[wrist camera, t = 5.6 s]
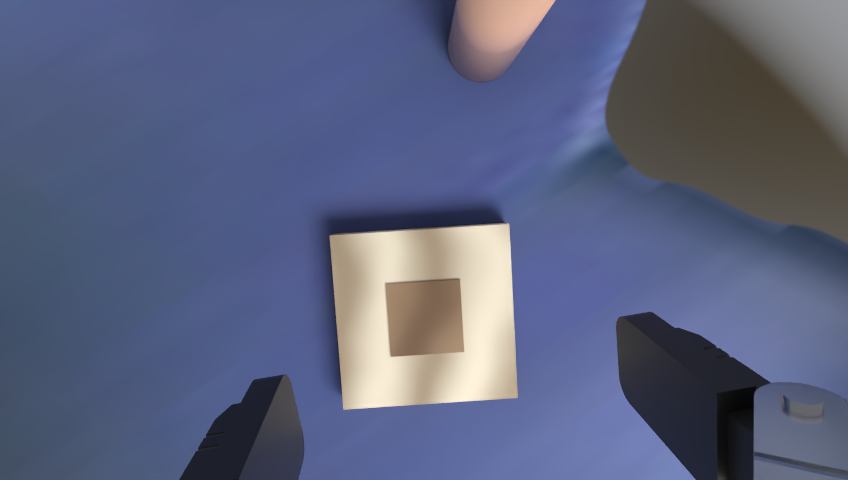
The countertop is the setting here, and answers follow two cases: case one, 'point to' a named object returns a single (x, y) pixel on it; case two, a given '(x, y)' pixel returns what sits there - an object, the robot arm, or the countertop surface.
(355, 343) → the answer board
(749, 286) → the countertop surface
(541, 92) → the countertop surface
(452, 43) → the pink rounded cylinder
